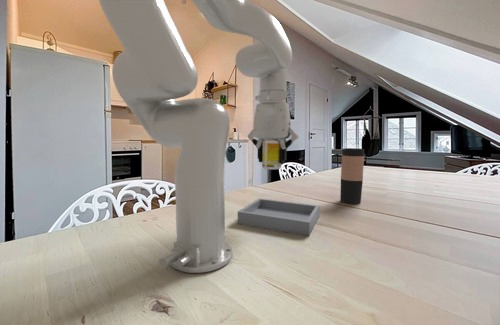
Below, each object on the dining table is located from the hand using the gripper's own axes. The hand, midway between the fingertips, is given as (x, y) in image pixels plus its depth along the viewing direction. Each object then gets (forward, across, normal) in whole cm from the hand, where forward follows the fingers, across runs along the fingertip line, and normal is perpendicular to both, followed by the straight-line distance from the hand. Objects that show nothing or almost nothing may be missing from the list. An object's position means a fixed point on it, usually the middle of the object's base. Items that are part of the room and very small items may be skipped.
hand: (271, 161), depth 71 cm
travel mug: (+17, +21, +31) cm, 41 cm away
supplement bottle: (+2, 0, 0) cm, 2 cm away
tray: (+17, +3, 0) cm, 17 cm away
